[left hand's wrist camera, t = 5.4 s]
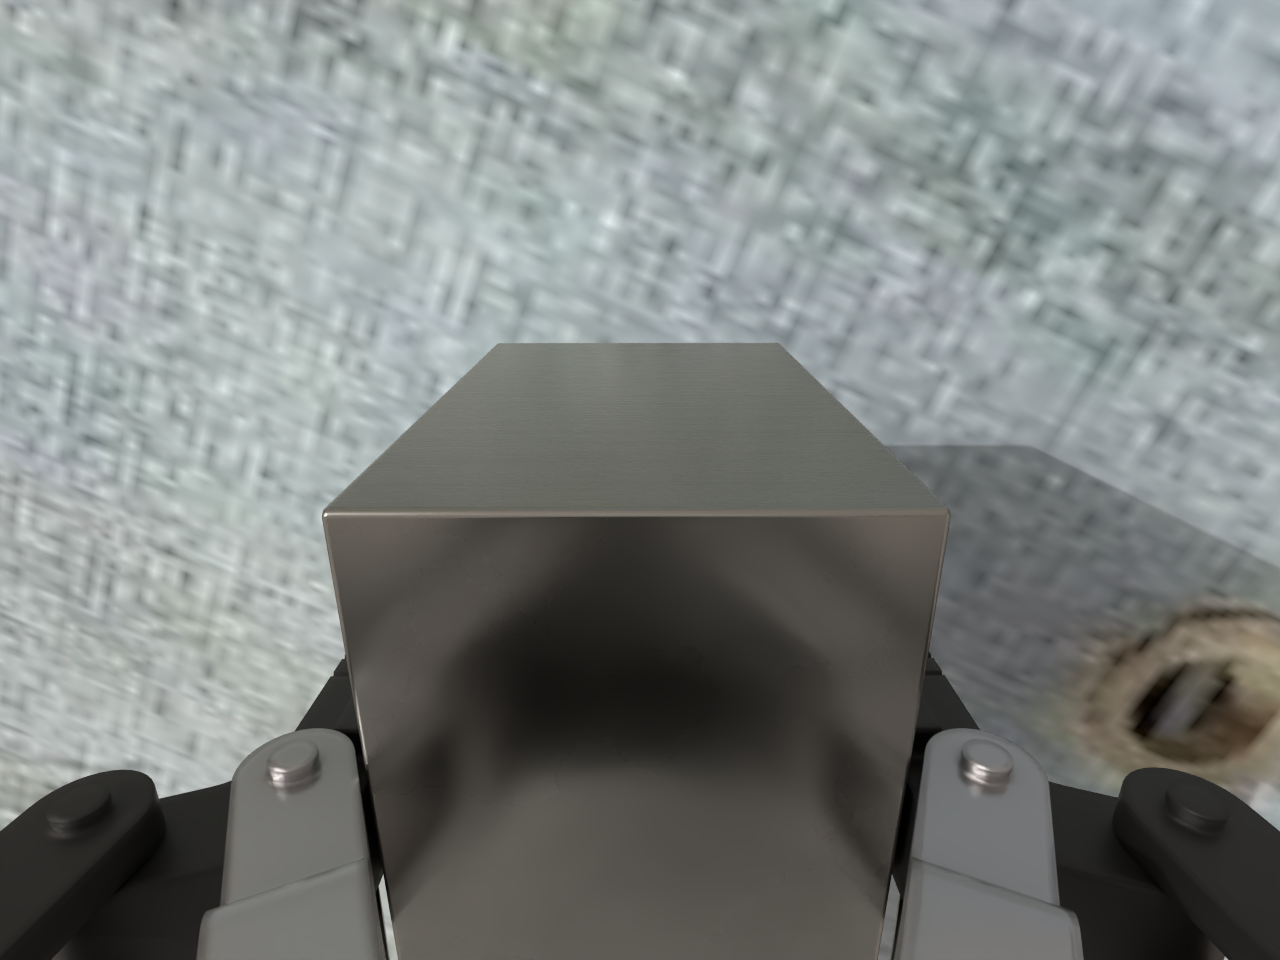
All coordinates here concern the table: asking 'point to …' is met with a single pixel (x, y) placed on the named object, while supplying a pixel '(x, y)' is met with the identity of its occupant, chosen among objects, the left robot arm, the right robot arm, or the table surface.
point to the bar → (637, 657)
